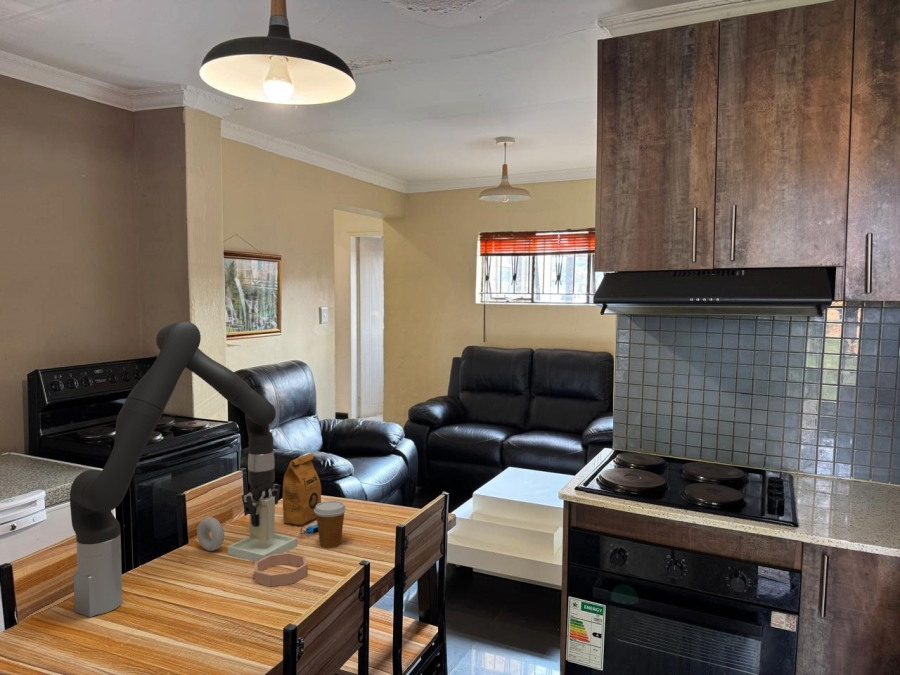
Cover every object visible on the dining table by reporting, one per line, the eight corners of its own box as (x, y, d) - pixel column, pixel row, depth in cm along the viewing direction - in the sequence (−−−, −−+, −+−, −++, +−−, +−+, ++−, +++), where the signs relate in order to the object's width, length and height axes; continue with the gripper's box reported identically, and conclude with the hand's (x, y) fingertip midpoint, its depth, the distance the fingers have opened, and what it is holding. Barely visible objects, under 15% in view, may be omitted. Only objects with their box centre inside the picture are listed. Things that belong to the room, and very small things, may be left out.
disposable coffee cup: (342, 550, 179) (342, 510, 179) (311, 549, 180) (310, 510, 179) (348, 537, 189) (348, 500, 188) (318, 537, 189) (318, 500, 188)
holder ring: (282, 590, 154) (282, 578, 154) (243, 579, 160) (243, 568, 160) (316, 569, 166) (316, 558, 166) (279, 560, 172) (279, 549, 172)
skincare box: (249, 539, 178) (248, 498, 177) (258, 533, 182) (257, 494, 181) (267, 541, 176) (266, 500, 175) (276, 535, 180) (275, 496, 180)
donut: (227, 551, 178) (226, 518, 178) (217, 555, 175) (216, 522, 175) (204, 545, 183) (203, 512, 183) (194, 549, 180) (194, 516, 180)
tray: (263, 563, 170) (263, 555, 170) (227, 554, 176) (227, 546, 176) (297, 545, 182) (297, 538, 182) (262, 537, 189) (262, 530, 189)
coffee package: (326, 517, 207) (325, 454, 206) (301, 528, 197) (300, 462, 195) (304, 512, 212) (303, 451, 211) (278, 523, 201) (277, 458, 200)
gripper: (253, 474, 170) (254, 533, 171) (287, 462, 183) (288, 517, 184) (233, 471, 173) (234, 529, 174) (269, 460, 186) (269, 513, 187)
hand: (262, 523), depth 179 cm, fingers closed on skincare box, 4 cm apart
